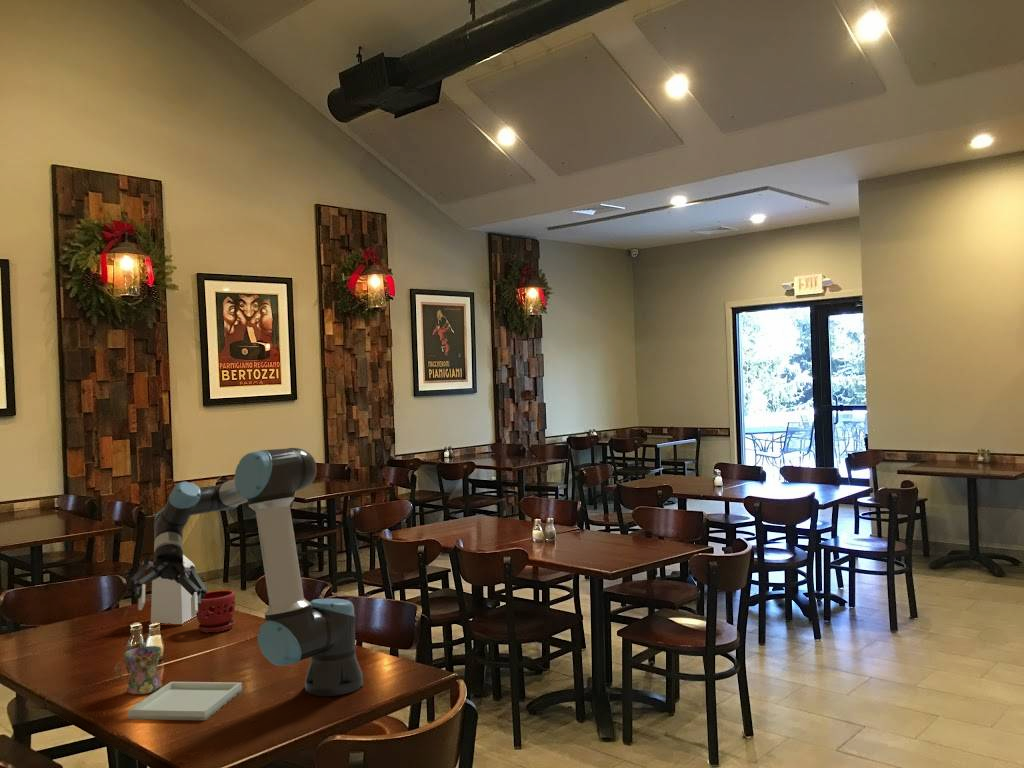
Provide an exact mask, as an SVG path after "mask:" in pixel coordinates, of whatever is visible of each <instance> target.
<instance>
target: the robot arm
mask: <svg viewBox="0 0 1024 768" xmlns="http://www.w3.org/2000/svg"><path fill="white" fill-rule="evenodd" d="M317 469H318V468H317V462H316V460H315V458H314V457H313V455H311V453H309V452H308V451H306V450H305V449H302V448H299V447H287V448H278V449H277V448H275V449H262V450H258V451H251V452H249V453H246V454H245V455H243V456H242V457H241V458H240V459H239V463H237V466H236V467H235V472H234V479H230V480H228V481H225V482H223V483H220V484H217V485H213V486H212V485H211V486H205V487H204V486H203V487H199V486H198V485H197V484H196V483H193V482H188V481H181V482H179V483H177V484H176V485H175V486H174V488H173V489H172V491H171V492H170V493H169V496H168V498H167V502H166V503H165V505H164V507H163V508H161V509H159V511H157V512H156V514H155V516H154V521H153V528H154V531H153V533H154V535H153V536H154V538H153V539H154V541H153V544H154V546H153V549H154V550H153V561H150V559H149V558H148V557H145V558H143V559H144V560H143V561H142V563H141V566H140V567H139V568H138V569H137V571H136V572H135V573H133V576H131V578H130V580H129V582H128V583H127V587H128V588H134V589H133V592H134V597H135V599H138V603H137V605H138V607H137V608H138V609H137V611H142V610H143V608H144V606H145V604H146V587H147V585H148V584H150V583H152V581H153V580H155V579H157V578H158V577H161V578H162V579H169V580H173V579H174V580H175V581H176V582H177V583H180V584H181V585H182V586H183V587H184V588H185V589H186V590H187V591H188V592H189V593H190V594H191V595H192V597H191V617H195V615H196V613H197V612H198V606H199V605H200V603H201V598H204V597H205V595H206V593H207V592H209V591H208V589H207V587H206V585H205V584H204V582H203V581H202V579H201V577H200V576H199V575H198V573H197V571H196V566H195V567H194V566H191V567H190V568H187V567H184V565H183V555H184V545H183V544H184V543H183V540H184V539H183V535H184V534H183V531H184V528H185V527H186V525H187V523H188V521H189V520H190V517H191V516H194V515H202V514H206V513H207V514H208V513H213V512H220V511H228V510H232V509H236V508H237V507H239V505H242V504H245V503H247V504H248V508H250V509H252V510H253V511H255V518H256V523H257V528H258V536H259V537H258V538H259V542H260V550H261V557H262V563H263V570H264V577H265V583H266V590H267V598H268V604H269V605H268V608H267V609H266V610H265V612H264V619H265V621H264V622H263V623H262V624H261V625H260V627H259V629H258V630H259V631H258V632H257V643H258V646H259V649H260V651H261V654H262V655H263V657H264V658H265V659H267V660H268V662H269V663H270V664H272V665H274V666H277V667H285V666H289V665H293V664H294V665H295V664H297V663H299V662H300V661H304V660H306V659H309V658H310V663H309V666H308V669H307V673H306V676H305V680H304V687H305V688H304V689H305V692H306V693H308V694H309V695H311V696H316V697H335V696H337V697H338V696H343V695H346V694H350V693H354V692H356V691H357V690H360V689H361V688H362V687H361V686H364V676H363V675H364V674H363V672H362V669H361V667H360V664H359V661H358V658H357V654H356V614H355V607H354V606H355V605H354V604H353V602H352V601H350V600H348V599H344V598H342V599H341V598H330V597H329V598H317V599H312V600H311V601H309V600H307V599H306V598H305V596H304V590H303V584H302V582H303V581H302V577H301V576H302V575H301V571H300V563H299V557H298V551H297V550H298V549H297V545H296V544H297V543H296V538H295V531H294V525H293V517H292V512H291V504H292V502H293V501H294V500H295V492H297V491H303V490H305V489H306V488H308V487H309V486H310V485H311V484H312V483H313V482H314V481H315V478H316V476H317V472H318V470H317ZM150 568H152V571H151V572H150V573H148V574H146V575H145V576H144V577H142V576H143V574H144V573H145V572H146V571H147V570H148V569H150ZM186 574H187V575H186ZM179 576H180V577H179ZM187 576H188V577H187ZM141 577H142V578H141ZM360 687H361V688H360Z"/></svg>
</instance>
